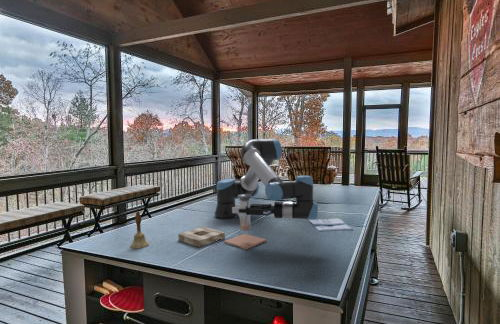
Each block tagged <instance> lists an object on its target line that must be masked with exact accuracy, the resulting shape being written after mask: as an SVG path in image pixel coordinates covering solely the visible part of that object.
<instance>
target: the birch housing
mask: <svg viewBox="0 0 500 324" xmlns="http://www.w3.org/2000/svg"><path fill="white" fill-rule="evenodd" d="M225 234H226V233H225V231H221V230H218V229H214V228H210V227H207V226H201V227H199V228H194V229H191V230H187V231H185V232H180V233H178V234H177V236H178V237H177V238H178V241H180V242H183V243H186V244H189V245H192V246H194V247H197V246H198V248H201V247H204V246H207V245H209V244H208V243H210V244H212V243H211V242H213V243H215V242H214V241H216V240H219V239H221V240H223V239H222V238H224V239H225V238H226V235H225ZM219 241H220V240H219ZM216 242H217V241H216ZM206 244H207V245H206ZM203 245H204V246H203ZM200 246H201V247H200Z"/></svg>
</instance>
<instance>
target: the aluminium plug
mask: <svg viewBox="0 0 500 324" xmlns="http://www.w3.org/2000/svg"><path fill="white" fill-rule="evenodd" d="M251 199H252V197H251V195H250V194H240V195H238V200H239V204H238V205H239V207H246V206H247V208H250V205H251ZM251 227H252V225H251V215H246V214H245V213H239V230H240V231H250V230H251Z"/></svg>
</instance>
